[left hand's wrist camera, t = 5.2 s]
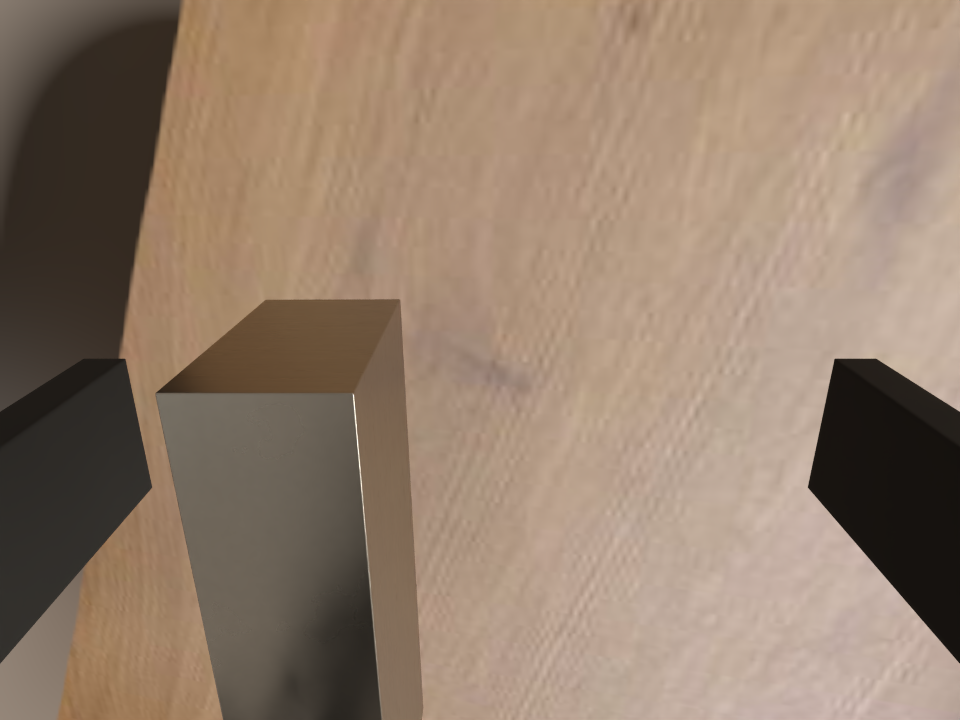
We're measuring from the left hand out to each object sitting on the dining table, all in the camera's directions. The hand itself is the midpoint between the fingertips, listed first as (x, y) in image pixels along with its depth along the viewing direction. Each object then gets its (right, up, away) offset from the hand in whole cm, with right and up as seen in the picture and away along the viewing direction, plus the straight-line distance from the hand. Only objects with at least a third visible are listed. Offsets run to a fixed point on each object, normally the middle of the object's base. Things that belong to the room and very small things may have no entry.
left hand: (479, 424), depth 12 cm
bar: (-6, -7, +19) cm, 21 cm away
